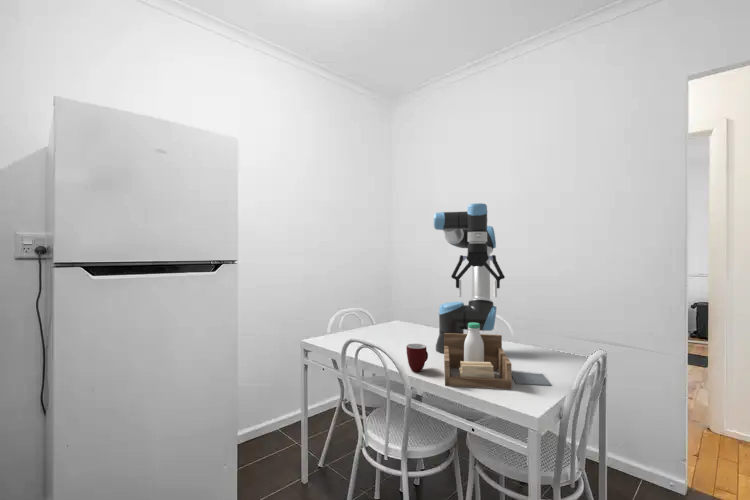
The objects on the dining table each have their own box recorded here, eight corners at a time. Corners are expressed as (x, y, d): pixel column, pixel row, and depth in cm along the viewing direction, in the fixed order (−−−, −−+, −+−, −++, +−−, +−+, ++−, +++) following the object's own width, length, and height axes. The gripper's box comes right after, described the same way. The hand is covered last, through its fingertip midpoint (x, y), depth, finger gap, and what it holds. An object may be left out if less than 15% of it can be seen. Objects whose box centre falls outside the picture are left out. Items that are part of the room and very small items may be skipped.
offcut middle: (459, 374, 142) (459, 367, 142) (491, 375, 141) (491, 368, 141) (460, 379, 137) (460, 372, 137) (494, 380, 135) (494, 373, 135)
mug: (417, 364, 160) (417, 341, 160) (433, 368, 155) (433, 344, 155) (402, 370, 152) (402, 346, 152) (419, 375, 147) (419, 349, 147)
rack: (444, 366, 158) (444, 333, 158) (501, 368, 154) (501, 334, 154) (445, 385, 136) (444, 346, 136) (511, 389, 132) (511, 349, 132)
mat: (510, 373, 149) (510, 372, 149) (542, 374, 147) (542, 373, 147) (516, 384, 137) (516, 382, 137) (551, 385, 135) (551, 384, 135)
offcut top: (460, 367, 142) (460, 361, 142) (490, 368, 141) (490, 362, 141) (462, 372, 137) (462, 365, 137) (493, 373, 136) (493, 366, 136)
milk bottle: (485, 377, 144) (484, 325, 144) (464, 376, 146) (464, 324, 145) (483, 371, 152) (483, 321, 151) (463, 370, 153) (463, 321, 153)
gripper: (445, 243, 146) (446, 297, 146) (512, 242, 143) (512, 298, 143) (444, 243, 153) (445, 295, 154) (508, 242, 150) (508, 295, 150)
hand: (477, 296), depth 148 cm, fingers open, 13 cm apart
